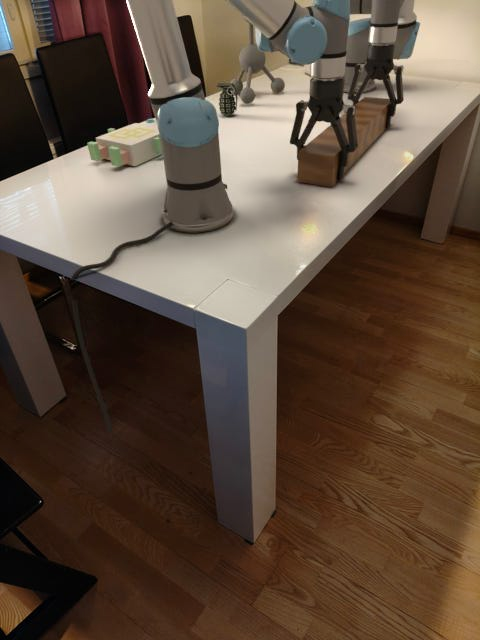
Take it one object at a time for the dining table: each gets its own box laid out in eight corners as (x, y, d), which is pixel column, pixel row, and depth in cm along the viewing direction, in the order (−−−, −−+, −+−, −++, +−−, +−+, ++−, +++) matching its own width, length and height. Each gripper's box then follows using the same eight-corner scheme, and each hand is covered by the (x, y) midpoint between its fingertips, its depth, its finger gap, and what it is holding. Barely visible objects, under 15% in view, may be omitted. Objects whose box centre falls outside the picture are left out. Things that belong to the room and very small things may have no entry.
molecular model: (298, 98, 182) (300, 3, 164) (243, 107, 176) (239, 9, 158) (272, 86, 199) (271, -1, 181) (221, 93, 194) (215, 4, 175)
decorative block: (141, 114, 152) (190, 122, 142) (145, 135, 156) (192, 145, 146) (76, 138, 136) (126, 149, 126) (82, 160, 140) (130, 173, 130)
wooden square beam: (331, 187, 117) (334, 156, 112) (297, 181, 120) (298, 151, 116) (390, 124, 153) (393, 99, 148) (362, 121, 156) (364, 96, 152)
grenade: (217, 117, 168) (214, 86, 162) (221, 112, 172) (219, 82, 166) (235, 117, 166) (233, 86, 160) (239, 113, 171) (238, 82, 165)
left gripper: (380, 76, 106) (368, 176, 120) (288, 70, 114) (287, 164, 128) (370, 84, 101) (359, 188, 114) (275, 77, 109) (275, 174, 123)
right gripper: (424, 42, 135) (410, 125, 149) (348, 39, 144) (342, 118, 158) (418, 47, 130) (404, 133, 144) (340, 44, 139) (334, 125, 153)
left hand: (321, 175), depth 121 cm, fingers closed on wooden square beam, 9 cm apart
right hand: (371, 125), depth 151 cm, fingers closed on wooden square beam, 9 cm apart
